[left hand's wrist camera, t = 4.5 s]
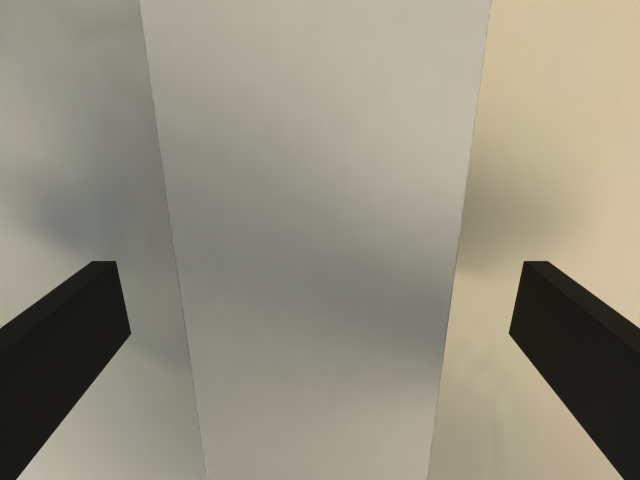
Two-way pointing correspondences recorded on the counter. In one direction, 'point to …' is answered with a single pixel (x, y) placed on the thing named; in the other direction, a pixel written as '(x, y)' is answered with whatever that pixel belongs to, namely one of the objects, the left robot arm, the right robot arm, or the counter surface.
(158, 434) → the counter surface
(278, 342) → the bar
